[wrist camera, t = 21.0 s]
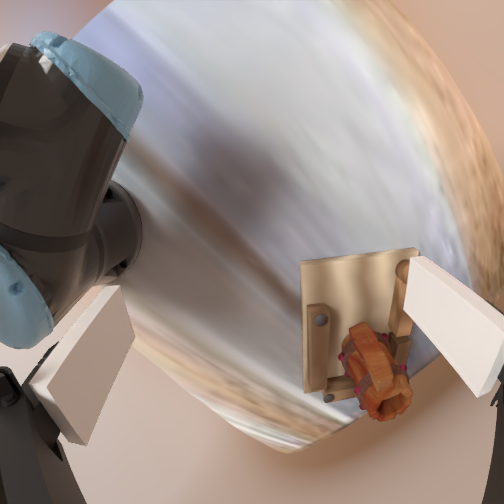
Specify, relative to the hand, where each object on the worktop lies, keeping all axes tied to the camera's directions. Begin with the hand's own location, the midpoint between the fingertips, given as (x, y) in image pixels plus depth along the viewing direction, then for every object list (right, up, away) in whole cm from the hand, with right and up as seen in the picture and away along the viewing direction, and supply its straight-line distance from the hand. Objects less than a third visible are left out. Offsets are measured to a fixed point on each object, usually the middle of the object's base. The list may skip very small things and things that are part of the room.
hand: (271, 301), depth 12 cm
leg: (+21, -4, +28) cm, 36 cm away
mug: (+15, -10, +30) cm, 35 cm away
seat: (+16, -9, +31) cm, 36 cm away
